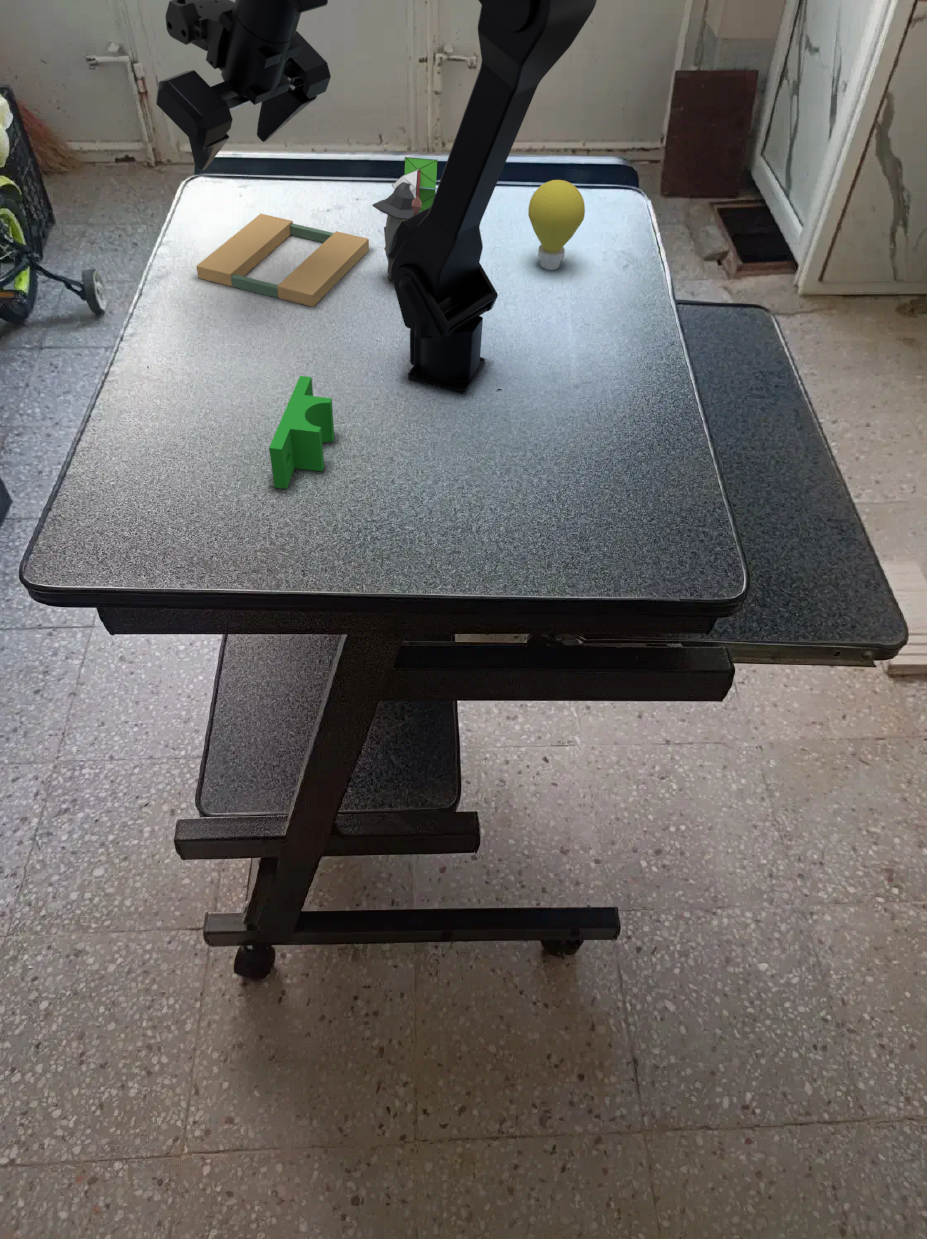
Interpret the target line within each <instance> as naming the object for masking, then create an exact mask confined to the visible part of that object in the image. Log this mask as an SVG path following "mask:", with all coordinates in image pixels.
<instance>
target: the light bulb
mask: <svg viewBox="0 0 927 1239" xmlns="http://www.w3.org/2000/svg"><path fill="white" fill-rule="evenodd" d="M585 214H586V207H585V199H584V197H583V195H582V193H581V192H580V190H579V189H578V187H576V186H575V185H574V184H573V183H571V182H569V181H567V180H564V179H563V180H562V179H552V180H549V181H546V182H544V183H542V184H541V185H540V186H539V187H538V188H537V189H536V190H534V193H533V194H532V196H531V197H530V201H529V204H528V214H527V216H528V218H529V220H530V224H531V227H532V230H533V232H534V234H535V236H536V238H537V239H538V241H539V243H540V245H539V246H538V250H537V251H538V253H537V257H538V258H539V259H540V267H541V268H543V269H545V270H550V271H553V270H557V269H559V267H560V264H561V261H563V260H564V259H565V254H566V252H565V251H566V249H565V248H564V246H565V245H566V244H567V243H568V242H569V241H570V240H571V239H572V238H573V236H574V235H575V233H576V232H577V230H578V229H579V227H580V226H581V224H582V223H583V221H584V219H585Z"/></svg>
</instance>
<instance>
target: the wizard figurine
mask: <svg viewBox="0 0 927 1239" xmlns="http://www.w3.org/2000/svg"><path fill="white" fill-rule="evenodd" d="M410 185H411V184H409V183H406V182H402V183H401V184H399V185H398V186H397V187H396V189H394V190H393V191H392V193H391V194H390V195H389V196H388V197H387V198H386V199H382V200H378V201H377V202H374V203H373V204H372V207H374V208H375V209H376V210H378V211H379V212H381V213H383V214H385V215H387V216H386V222H385V226H384V227H383V235H384V247H383V250H384V251H385V256H386V257H385V258H386V259H387V277H386V279H387V281H388V282H389V283H390V282H393V280H391V272H390V271H391V264H392V262H393V259H390V258H389V257H388V254H389V253H390V252H391V251H392V250H393V248H394V246H395V243H396V238H397V231H398V229H399V226H400V224H401V222H402V221H404V220H406V219H408V218H410V217H412V216H414V215H416V214H418V213H420V209H421V204H422V202H421V201H420V199H419V198H418V196H417V197H416V198H415V197H414V196H413V194H412V192H411V190H410Z"/></svg>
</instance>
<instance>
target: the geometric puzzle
mask: <svg viewBox="0 0 927 1239" xmlns="http://www.w3.org/2000/svg"><path fill="white" fill-rule="evenodd" d="M403 166H404V175H401V174H402V171H403ZM400 169H401V170H400ZM398 171H399V175H398V178H397V180H396V179H394V180H393V183H392V184H391V187H392V190H393V191H394V190H395V189H396V187H397V186H398V185H399V184H401V183H402V182H406V183H409V184H411V185H410V190H411V192H412V194H413V196H414V197H415V198H416V197H417V196H418V198H419V199H420V201H421V202H422V204H421V209H420V212H421V211H423V210H425V209H427V208H429V207H431V205H432V202H433V199H434V196H435V194H436V191H437V188H438V187H437V186H438V183H439V180H437V175H438V174H437V173H438V172H440V173H439V175H440V176H442V174H443V171H442V170H441V167H440V164H439V159H438V158H437V159H434V158H433V159H432V158H420V157H410V156H409V157H408V156H405V155H404V159H403V161H402V164H401V165H400V167H399V170H398ZM395 180H396V181H395Z"/></svg>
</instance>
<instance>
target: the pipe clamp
mask: <svg viewBox="0 0 927 1239" xmlns="http://www.w3.org/2000/svg"><path fill="white" fill-rule="evenodd" d="M288 400H289V401H288V403H287V405H286V408H285V410H284V412H283V414H282V416H281V419H280V422H279V424H278V426H277V428H276V430H275V433H274V435H273V438H272V440H271V442H270V445H269V447H268V451H269V457H270V464H271V472H272V478H273V486H274V488H277V489H286V490H287V489H288V486H289V484H290V482H291V479H292V477H293V474H294V472H295V469H299V470H307V471H316V472H323V471H324V468H325V460H324V449H323V447H324V446H323V443H333V442H334V440H335V424H334V412H333V410H334V409H333V398H332V397H325V396H315V395H314V390H313V377H312V376H305V375H299V377H298V379H297V381H296V384H295V386H294V389H293V390H292V393H291V396H290V398H289V399H288Z"/></svg>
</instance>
